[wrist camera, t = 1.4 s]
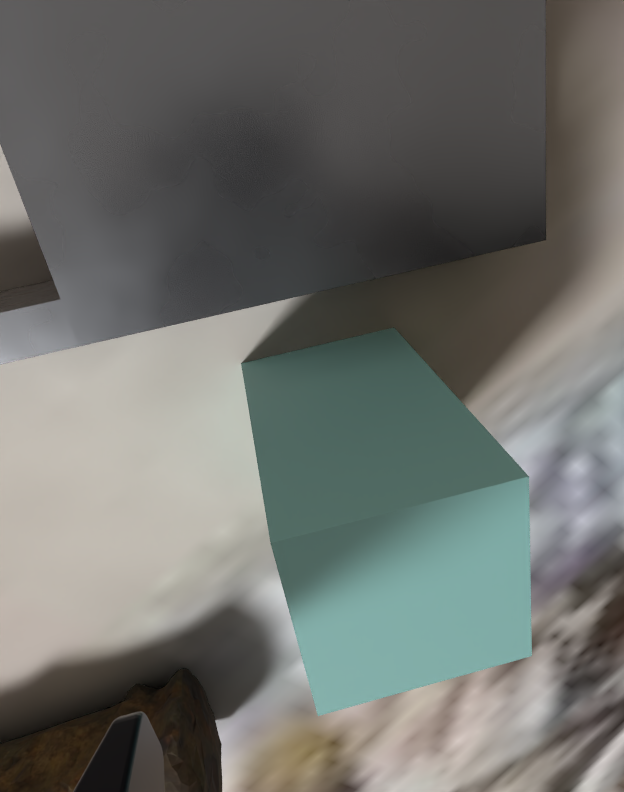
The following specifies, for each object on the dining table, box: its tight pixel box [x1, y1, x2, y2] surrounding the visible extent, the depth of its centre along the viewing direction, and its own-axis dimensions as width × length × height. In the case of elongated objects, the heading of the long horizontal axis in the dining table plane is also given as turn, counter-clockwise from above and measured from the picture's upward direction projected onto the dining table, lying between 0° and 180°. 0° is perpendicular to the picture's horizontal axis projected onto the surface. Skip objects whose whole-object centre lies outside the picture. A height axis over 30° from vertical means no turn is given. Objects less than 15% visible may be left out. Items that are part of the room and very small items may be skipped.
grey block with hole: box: [0, 0, 546, 364], centre depth 11 cm, size 20×8×2 cm, turn 101°
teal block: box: [241, 328, 532, 716], centre depth 13 cm, size 4×4×7 cm
